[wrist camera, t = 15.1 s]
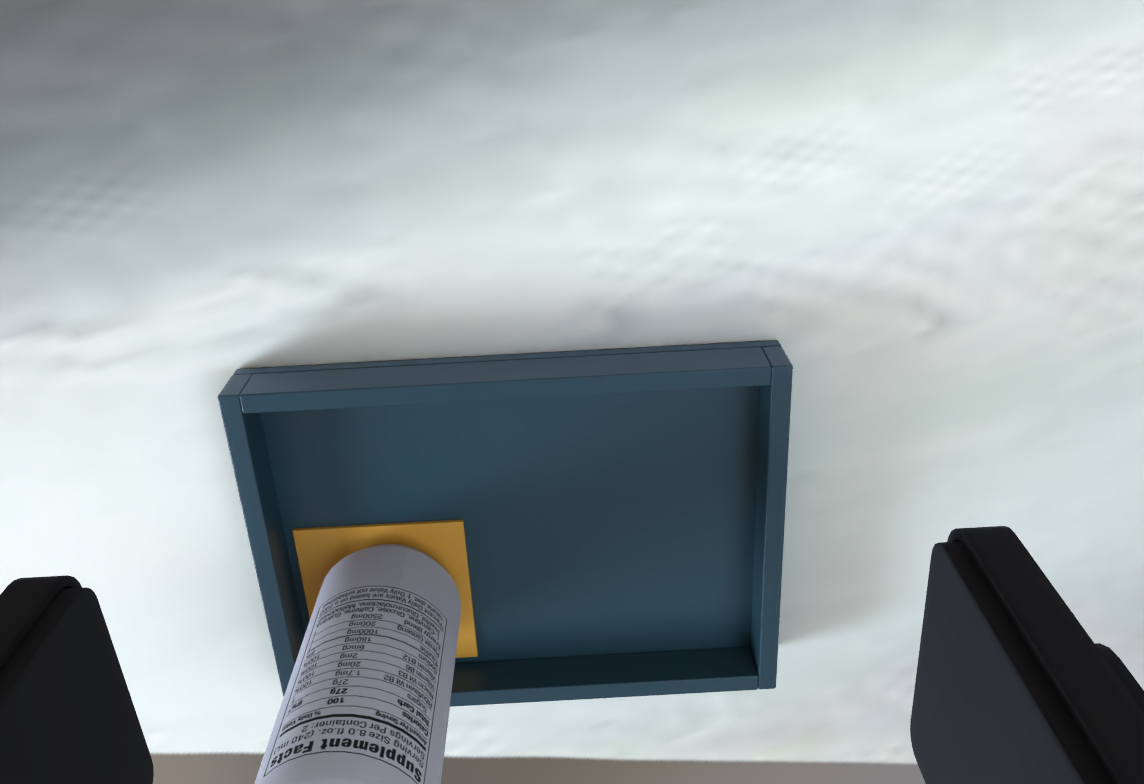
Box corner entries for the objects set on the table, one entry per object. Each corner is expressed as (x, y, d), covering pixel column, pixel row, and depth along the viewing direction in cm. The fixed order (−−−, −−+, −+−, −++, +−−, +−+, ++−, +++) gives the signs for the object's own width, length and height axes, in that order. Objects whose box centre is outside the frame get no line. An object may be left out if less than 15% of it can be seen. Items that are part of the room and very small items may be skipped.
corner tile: (463, 519, 42) (462, 521, 42) (478, 654, 45) (477, 656, 45) (293, 528, 42) (292, 531, 42) (319, 662, 45) (318, 665, 45)
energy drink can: (311, 628, 44) (206, 942, 30) (340, 517, 41) (241, 804, 28) (442, 659, 45) (399, 977, 31) (478, 552, 42) (449, 846, 29)
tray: (778, 339, 39) (793, 365, 37) (764, 650, 46) (776, 689, 44) (236, 368, 39) (217, 396, 37) (300, 675, 46) (287, 715, 43)
